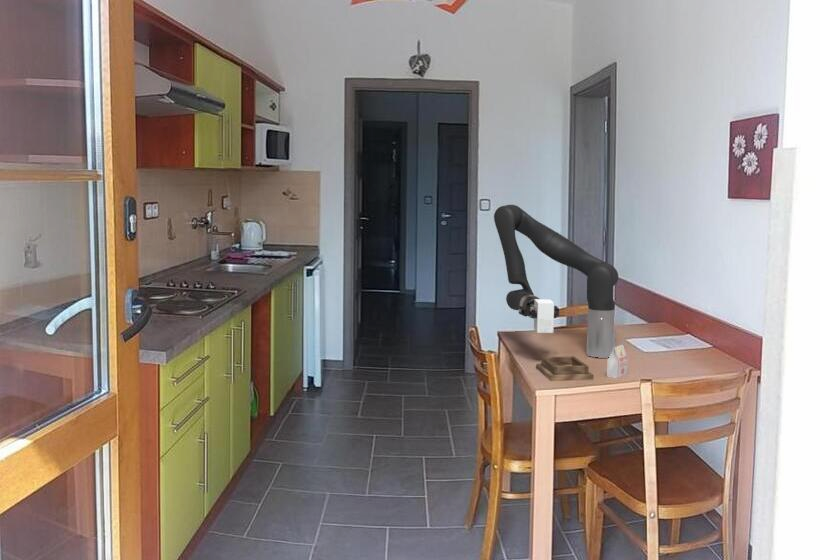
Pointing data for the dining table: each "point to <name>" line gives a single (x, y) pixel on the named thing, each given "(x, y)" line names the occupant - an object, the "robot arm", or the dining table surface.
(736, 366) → the dining table surface
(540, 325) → the small box
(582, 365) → the walnut cradle
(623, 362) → the milk carton
